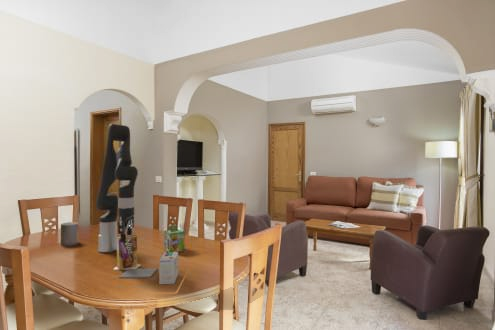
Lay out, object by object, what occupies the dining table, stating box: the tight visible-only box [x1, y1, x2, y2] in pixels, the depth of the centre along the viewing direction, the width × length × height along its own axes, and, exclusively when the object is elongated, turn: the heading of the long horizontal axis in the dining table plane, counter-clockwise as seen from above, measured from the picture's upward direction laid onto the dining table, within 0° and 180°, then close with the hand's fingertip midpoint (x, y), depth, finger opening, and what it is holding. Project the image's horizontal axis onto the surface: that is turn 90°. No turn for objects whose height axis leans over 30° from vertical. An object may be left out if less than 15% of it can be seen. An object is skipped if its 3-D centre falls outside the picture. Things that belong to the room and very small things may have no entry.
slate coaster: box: [118, 268, 158, 279], centre depth 141 cm, size 14×10×1 cm
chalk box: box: [163, 224, 186, 253], centre depth 178 cm, size 9×9×15 cm
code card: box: [112, 263, 141, 271], centre depth 150 cm, size 11×7×1 cm, turn 90°
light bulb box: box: [158, 251, 179, 285], centre depth 134 cm, size 11×7×11 cm, turn 5°
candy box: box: [116, 234, 138, 271], centre depth 150 cm, size 9×4×15 cm, turn 130°
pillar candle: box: [60, 221, 79, 247], centre depth 191 cm, size 10×10×15 cm
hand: (126, 239), depth 150 cm, fingers open, 7 cm apart
